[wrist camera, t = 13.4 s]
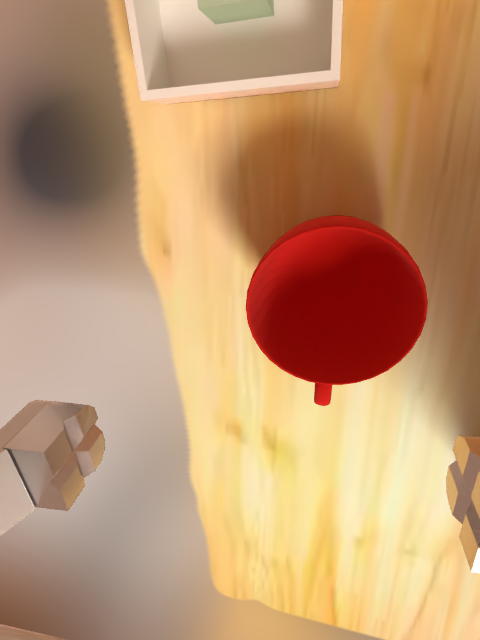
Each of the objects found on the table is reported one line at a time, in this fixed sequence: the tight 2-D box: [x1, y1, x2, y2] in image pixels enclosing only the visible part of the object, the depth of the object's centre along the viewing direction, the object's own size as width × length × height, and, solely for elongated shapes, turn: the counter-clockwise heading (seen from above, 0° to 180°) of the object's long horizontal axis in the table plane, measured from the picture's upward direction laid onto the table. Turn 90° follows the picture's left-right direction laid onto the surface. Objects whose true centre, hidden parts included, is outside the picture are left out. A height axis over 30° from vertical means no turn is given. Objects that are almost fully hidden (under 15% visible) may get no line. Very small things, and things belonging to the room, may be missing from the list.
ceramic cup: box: [246, 215, 428, 406], centre depth 33 cm, size 13×17×10 cm
